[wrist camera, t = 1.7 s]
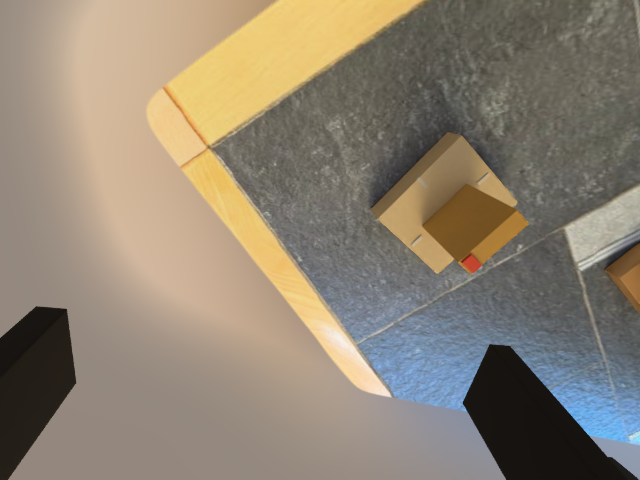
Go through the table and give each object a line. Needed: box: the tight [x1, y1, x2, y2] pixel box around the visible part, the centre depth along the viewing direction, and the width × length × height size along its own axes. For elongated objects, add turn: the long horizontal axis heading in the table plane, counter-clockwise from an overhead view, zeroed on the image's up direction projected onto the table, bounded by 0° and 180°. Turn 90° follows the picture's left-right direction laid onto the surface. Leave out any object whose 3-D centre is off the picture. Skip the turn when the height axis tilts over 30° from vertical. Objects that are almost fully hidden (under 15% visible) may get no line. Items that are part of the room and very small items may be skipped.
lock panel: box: [371, 132, 518, 274], centre depth 36 cm, size 11×10×3 cm
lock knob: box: [422, 184, 529, 274], centre depth 31 cm, size 6×2×8 cm, turn 137°
